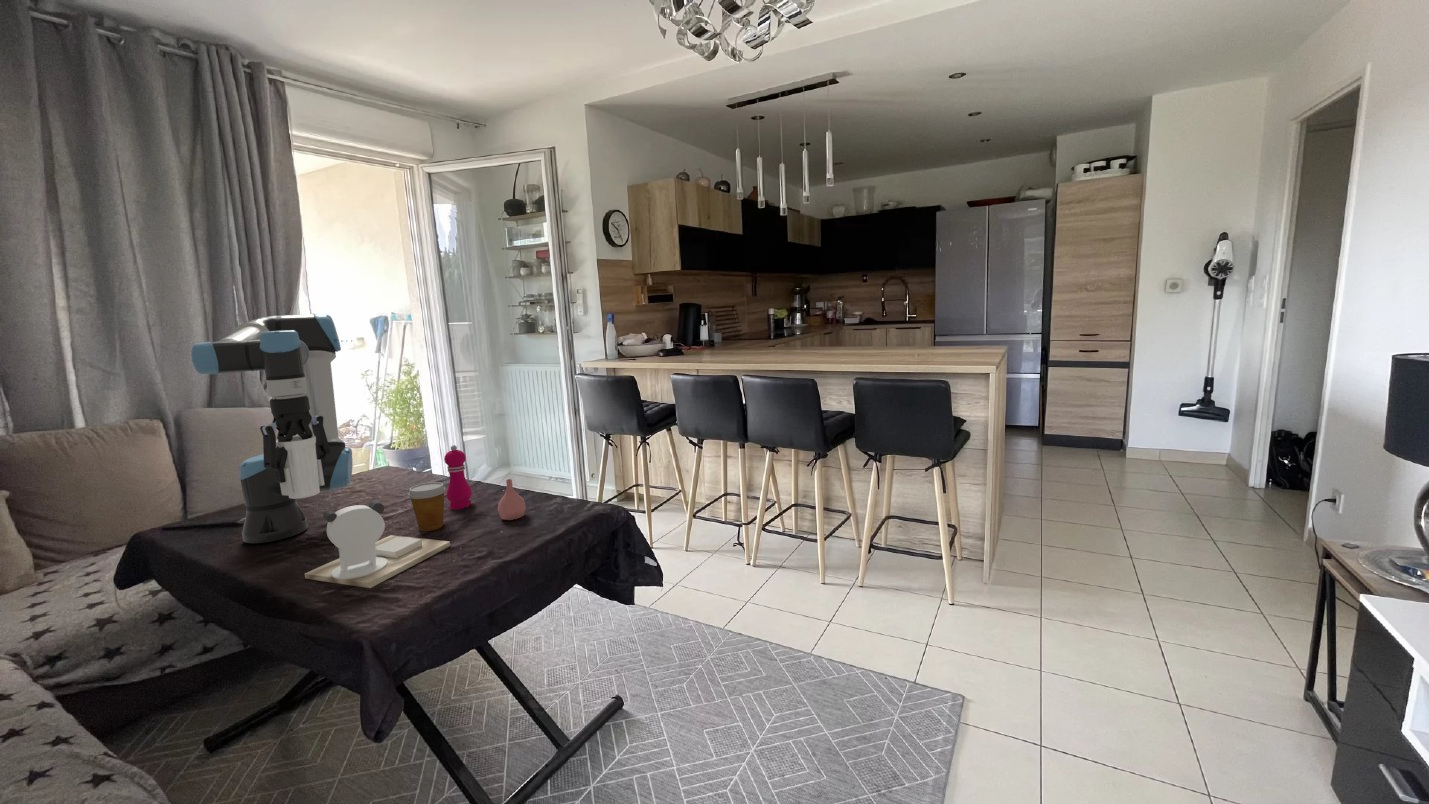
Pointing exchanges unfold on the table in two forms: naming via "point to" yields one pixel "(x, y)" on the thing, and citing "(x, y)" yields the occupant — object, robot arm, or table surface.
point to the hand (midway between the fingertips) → (303, 489)
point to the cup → (302, 466)
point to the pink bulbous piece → (511, 504)
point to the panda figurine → (356, 539)
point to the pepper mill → (457, 479)
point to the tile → (397, 547)
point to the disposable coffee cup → (428, 505)
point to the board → (388, 571)
